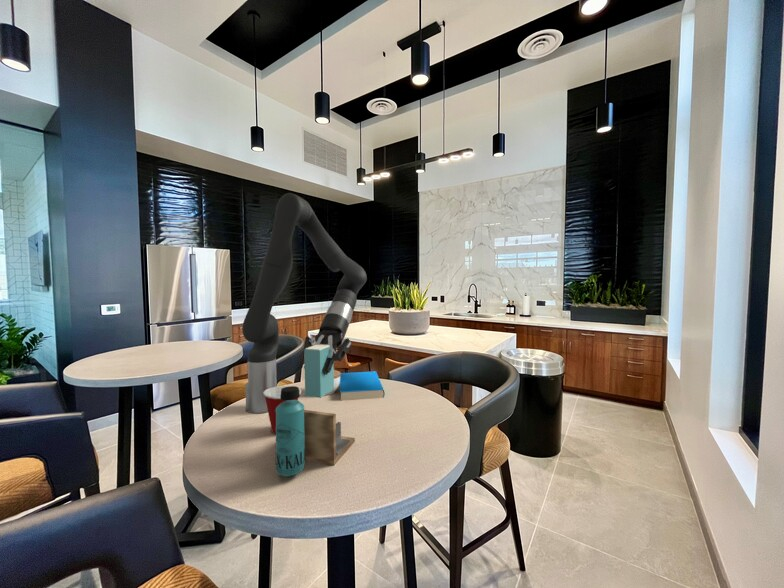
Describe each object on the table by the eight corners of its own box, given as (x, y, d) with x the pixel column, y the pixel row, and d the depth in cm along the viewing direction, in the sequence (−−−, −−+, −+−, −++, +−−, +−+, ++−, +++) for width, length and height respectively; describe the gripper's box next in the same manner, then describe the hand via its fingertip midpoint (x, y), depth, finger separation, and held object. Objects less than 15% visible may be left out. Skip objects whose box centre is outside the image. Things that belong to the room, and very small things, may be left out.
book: (339, 391, 119) (339, 372, 143) (340, 402, 119) (339, 381, 143) (385, 388, 122) (376, 370, 146) (385, 399, 122) (377, 379, 146)
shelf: (277, 455, 81) (276, 408, 80) (304, 433, 92) (303, 393, 92) (334, 465, 76) (333, 415, 76) (354, 441, 87) (354, 398, 87)
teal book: (305, 396, 81) (304, 348, 81) (319, 387, 88) (318, 343, 88) (320, 397, 80) (319, 349, 80) (333, 389, 87) (333, 344, 86)
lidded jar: (345, 389, 131) (345, 367, 131) (330, 398, 121) (330, 374, 121) (324, 386, 135) (324, 364, 135) (308, 394, 126) (307, 371, 125)
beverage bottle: (279, 467, 75) (278, 383, 75) (308, 465, 76) (307, 382, 75) (271, 484, 69) (270, 393, 68) (303, 482, 69) (301, 392, 69)
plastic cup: (304, 434, 92) (303, 393, 91) (263, 441, 88) (262, 398, 87) (300, 420, 102) (299, 382, 101) (264, 425, 98) (263, 387, 98)
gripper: (310, 311, 93) (285, 362, 81) (355, 312, 88) (335, 366, 77) (320, 327, 98) (297, 377, 87) (363, 329, 93) (345, 382, 82)
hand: (315, 372), depth 82 cm, fingers closed on teal book, 4 cm apart
